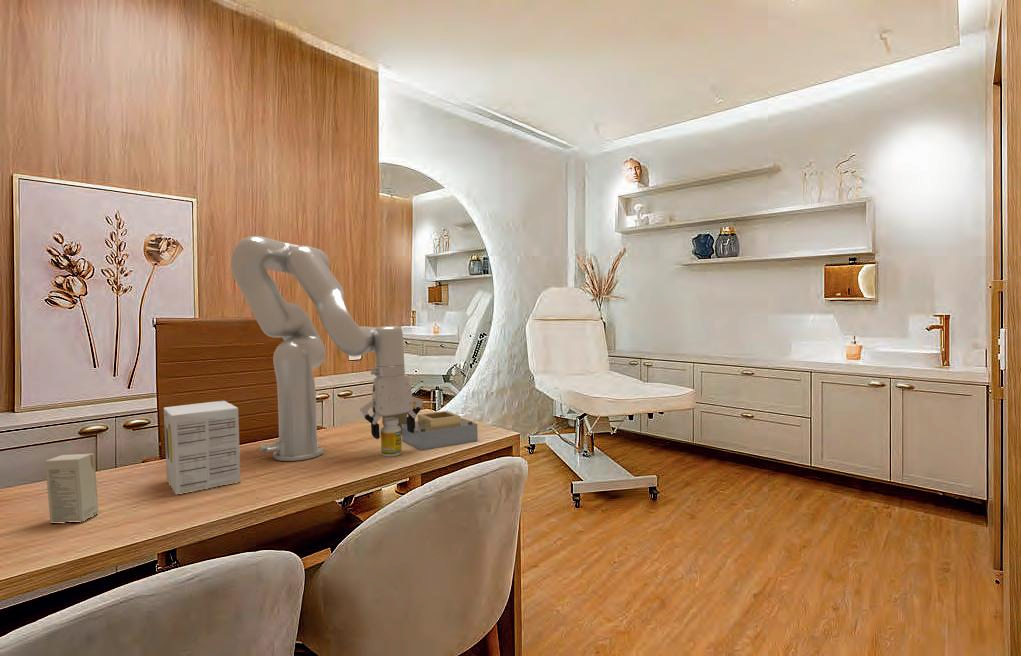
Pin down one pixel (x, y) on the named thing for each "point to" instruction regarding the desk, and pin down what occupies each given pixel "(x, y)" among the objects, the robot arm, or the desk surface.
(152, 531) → the desk surface
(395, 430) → the supplement bottle
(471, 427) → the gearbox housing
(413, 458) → the desk surface
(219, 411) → the supplement box
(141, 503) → the desk surface
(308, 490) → the desk surface
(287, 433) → the robot arm
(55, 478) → the skincare box
